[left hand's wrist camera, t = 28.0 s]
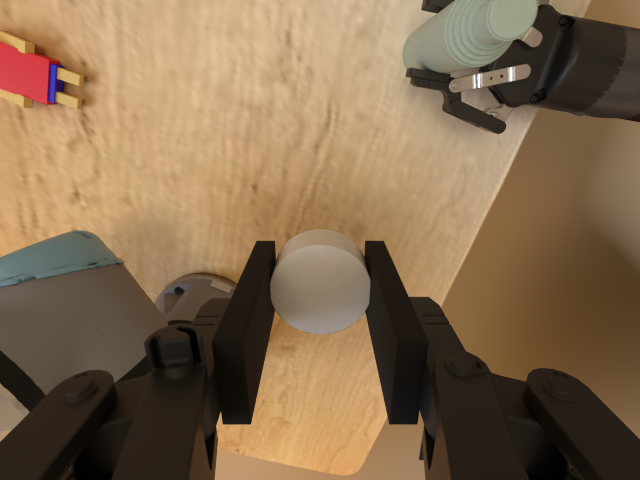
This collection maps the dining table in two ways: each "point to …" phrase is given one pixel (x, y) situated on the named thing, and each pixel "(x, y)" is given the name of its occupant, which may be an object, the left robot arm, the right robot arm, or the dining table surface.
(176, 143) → the dining table surface
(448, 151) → the dining table surface
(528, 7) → the bottle
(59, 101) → the toy figure
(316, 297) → the cap
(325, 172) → the dining table surface
